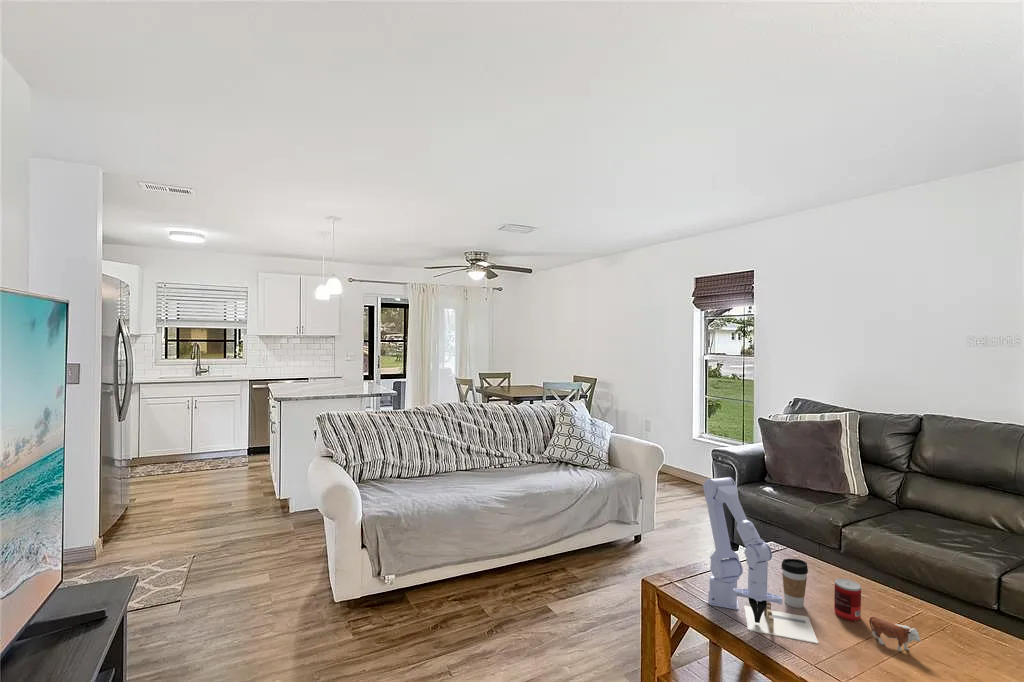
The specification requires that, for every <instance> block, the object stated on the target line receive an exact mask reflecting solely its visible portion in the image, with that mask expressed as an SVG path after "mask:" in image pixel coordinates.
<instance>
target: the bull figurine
mask: <svg viewBox="0 0 1024 682" xmlns="http://www.w3.org/2000/svg"><path fill="white" fill-rule="evenodd" d="M868 621H869V626H870V628H871V632H872V636H873V638H875V639H876V640H878V644H880V645H882V646H885V645H886V644H885V642H884V641H883V640H882V638H881V636H882V635H881V634H884V635H885V637H886V638H887V639H889V640H890V639H894V640H895V639H896V640H897V645H898V646H897V647H896V649H897V650H898V652H903V650H902V648H901V647H902V646H903V649H904V650H905V651H906V652H909V651H910V649H909V648H908V646H907V644H910V643H912V642H913V641H915V642H917V643H918V642H919V643H920V642H921V643H922V639H921V638H920V633H919V629H916V628H911V627H910V626H908V625H902V624H897V623H894V622H890V621H887V620H884V619H882V618H880V617H876V616H871V617H869V620H868Z"/></svg>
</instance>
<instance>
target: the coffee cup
mask: <svg viewBox="0 0 1024 682" xmlns="http://www.w3.org/2000/svg"><path fill="white" fill-rule="evenodd" d="M780 567H781V569H782V585H783V596H784V598H783V599H784V603H785V605H788V606H790V607H792V608H799V609H801V608H803V607H804V604H805V594H806V589H807V587H806V586H807V580H808V578H807V574H808V573H809V569H808V568H809V567H808V562H806V561H804V560H802V559H797V558H785V559H782V561H781V566H780Z"/></svg>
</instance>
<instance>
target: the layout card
mask: <svg viewBox="0 0 1024 682" xmlns="http://www.w3.org/2000/svg"><path fill="white" fill-rule="evenodd" d="M743 608H744V615H745V621H746V626H747V627H746V628H747V631H749V632H750V631H751V632H756V633H761V634H766V635H771V636H776V637H781V638H786V639H792V640H795V641H802V642H807V643H812V644H817V645H818V644H819V641H818V638H817V636H816V634H815V631H814V629H813V626H812V623H811V620H810V618H809V616H805V615H799V614H794V613H788V612H787V613H786V612H783V611H777V610H771V611H772V617H773V619H774V628H773V632H770V630H769V625H768V621H767V617H766V616H765V615H764V611H763V613H762V616H761V619H760V623H756V622H755V620H754V613H753V610H752V608H751V606H748V605H744V606H743Z"/></svg>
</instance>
